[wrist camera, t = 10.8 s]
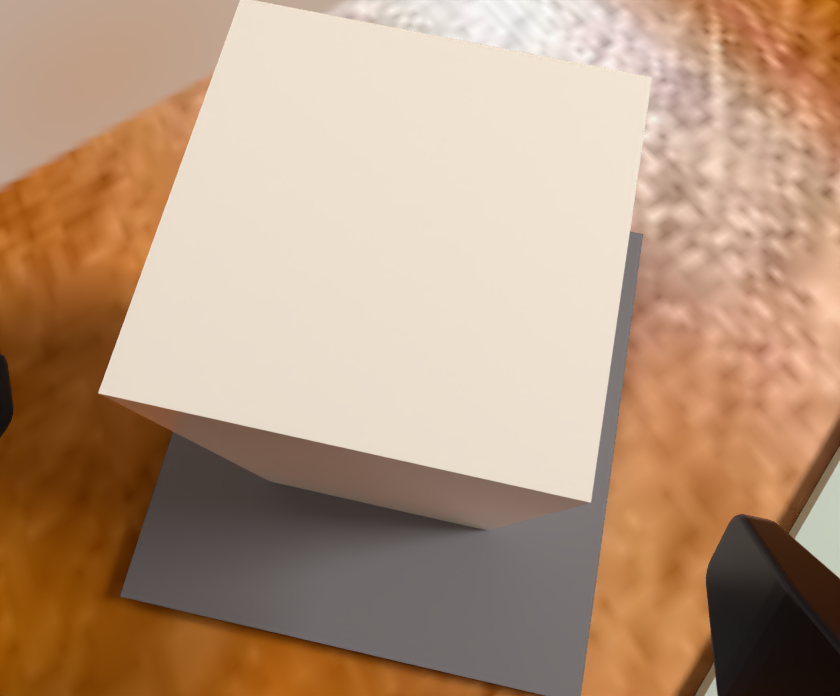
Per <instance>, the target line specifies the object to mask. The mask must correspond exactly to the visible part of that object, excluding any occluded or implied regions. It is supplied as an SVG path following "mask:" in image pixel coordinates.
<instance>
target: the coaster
mask: <svg viewBox="0 0 840 696" xmlns="http://www.w3.org/2000/svg"><path fill="white" fill-rule="evenodd" d="M789 535H791V536H792V537H793V538H794V539H795V540H796V541H797V542H799V543H800V544H801V545H802V546H803V547H804V548H806V549H807V550H808V551H809V552H810V553H811V554H812V555H814V556H815V557H816V558H817V559H818V560H819V561H820V562H822V563H823V564H824V565H825V566H826V567H827V568H828V569H830V570H831V571H832V572H833V573H834V574H835V575H837V576H838V577H839V578H840V446H839V448H838V449H837V451H836V453H835V454H834V456H833V458H832V460H831V461H830V463H829V465H828V466H827V468H826V470H825V472H824V473H823V475H822V477H821V479H820V480H819V482H818V484H817V485H816V487H815V489H814V491H813V492H812V494H811V496H810V498H809V499H808V501H807V503H806V504H805V506H804V508H803V510H802V511H801V513H800V515H799V517H798V518H797V520H796V522H795V523H794V525H793V527H792V529H791V530H790V532H789ZM695 696H718V695H717V687H716V678H715V668H714V663H713V665H712V667H711V668H710V670H709V672H708V674H707V675H706V677H705V679H704V681H703V682H702V684H701V686H700V687H699V689H698V691H697V693H696V694H695Z"/></svg>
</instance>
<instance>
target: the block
mask: <svg viewBox="0 0 840 696" xmlns="http://www.w3.org/2000/svg"><path fill="white" fill-rule="evenodd" d="M651 81H652V77H647V76H642V75H637V74H632V73H626V72H621V71H616V70H611V69H606V68H601V67H595V66H590V65H585V64H580V63H575V62H570V61H564V60H559V59H554V58H549V57H544V56H539V55H533V54H528V53H523V52H518V51H513V50H508V49H502V48H497V47H492V46H487V45H482V44H477V43H471V42H466V41H461V40H456V39H451V38H446V37H440V36H435V35H430V34H425V33H420V32H415V31H409V30H404V29H399V28H394V27H389V26H384V25H378V24H373V23H368V22H363V21H358V20H353V19H347V18H342V17H337V16H332V15H327V14H322V13H316V12H311V11H306V10H301V9H295V8H290V7H285V6H280V5H275V4H270V3H265V2H259V1H254V0H240V3H239V5H238V8H237V11H236V13H235V16H234V19H233V21H232V25H231V27H230V30H229V33H228V35H227V38H226V41H225V44H224V46H223V49H222V52H221V55H220V58H219V60H218V63H217V66H216V68H215V71H214V74H213V77H212V80H211V82H210V85H209V88H208V91H207V93H206V96H205V99H204V102H203V104H202V107H201V110H200V113H199V115H198V118H197V121H196V124H195V127H194V129H193V132H192V135H191V138H190V140H189V143H188V146H187V149H186V151H185V154H184V157H183V160H182V162H181V165H180V168H179V171H178V174H177V176H176V179H175V182H174V185H173V187H172V190H171V193H170V196H169V198H168V201H167V204H166V207H165V209H164V212H163V215H162V218H161V221H160V223H159V226H158V229H157V232H156V234H155V237H154V240H153V243H152V245H151V248H150V251H149V254H148V256H147V259H146V262H145V265H144V268H143V270H142V273H141V276H140V279H139V281H138V284H137V287H136V290H135V292H134V295H133V298H132V301H131V303H130V306H129V309H128V312H127V315H126V317H125V320H124V323H123V326H122V328H121V331H120V334H119V337H118V339H117V342H116V345H115V348H114V350H113V353H112V356H111V359H110V362H109V364H108V367H107V370H106V373H105V375H104V378H103V381H102V384H101V386H100V389H99V392H98V393H99V394H101V395H102V396H104V397H106V398H108V399H110V400H112V401H114V402H116V403H118V404H120V405H122V406H124V407H126V408H128V409H130V410H132V411H134V412H136V413H138V414H139V415H141V416H143V417H145V418H147V419H149V420H151V421H153V422H155V423H157V424H159V425H161V426H163V427H165V428H167V429H169V430H171V431H173V432H175V433H176V434H178V435H180V436H182V437H184V438H186V439H188V440H190V441H192V442H194V443H196V444H198V445H200V446H202V447H204V448H206V449H208V450H210V451H212V452H213V453H215V454H217V455H219V456H221V457H223V458H225V459H227V460H229V461H231V462H233V463H235V464H237V465H239V466H241V467H243V468H245V469H247V470H248V471H250V472H252V473H254V474H256V475H258V476H260V477H262V478H264V479H266V480H268V481H270V482H274V483H279V484H283V485H288V486H292V487H296V488H301V489H305V490H310V491H314V492H319V493H323V494H327V495H332V496H336V497H341V498H345V499H350V500H354V501H359V502H363V503H367V504H372V505H376V506H381V507H385V508H390V509H394V510H398V511H403V512H407V513H412V514H416V515H421V516H425V517H430V518H434V519H438V520H443V521H447V522H452V523H456V524H461V525H465V526H469V527H474V528H478V529H483V530H487V531H488V530H491V529H495V528H499V527H503V526H506V525H510V524H514V523H517V522H521V521H525V520H528V519H532V518H536V517H540V516H543V515H547V514H551V513H554V512H558V511H562V510H566V509H569V508H573V507H577V506H580V505H584V504H588V503H591V499H592V492H593V485H594V478H595V471H596V464H597V457H598V450H599V443H600V436H601V429H602V422H603V415H604V408H605V401H606V394H607V387H608V380H609V373H610V366H611V359H612V352H613V346H614V339H615V332H616V325H617V318H618V311H619V304H620V297H621V290H622V283H623V276H624V269H625V262H626V255H627V248H628V241H629V234H630V227H631V220H632V213H633V206H634V199H635V192H636V185H637V178H638V171H639V164H640V157H641V150H642V143H643V136H644V129H645V122H646V116H647V109H648V102H649V95H650V88H651Z"/></svg>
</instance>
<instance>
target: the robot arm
mask: <svg viewBox="0 0 840 696" xmlns="http://www.w3.org/2000/svg"><path fill="white" fill-rule="evenodd" d="M12 415H13V401H12V393H11V386H10V379H9V372H8V365H7V361H6V359H5V357H4V356H3V354H1V353H0V437H1V436H2V434H3V433H4V432H5V430H6V429H7V427H8V426H9V423H10V421H11V419H12ZM706 588H707V598H708V608H709V618H710V628H711V638H712V648H713V658H714V668H715V678H716V687H717V695H718V696H840V578H839V577H838V576H837V575H835V574H834V573H833V572H832V571H831V570H830V569H828V568H827V567H826V566H825V565H824V564H823V563H822V562H820V561H819V560H818V559H817V558H816V557H815V556H814V555H812V554H811V553H810V552H809V551H808V550H807V549H806V548H804V547H803V546H802V545H801V544H800V543H799V542H797V541H796V540H795V539H794V538H793V537H792V536H791V535H789V534H788V533H787V532H786V531H785V530H784V529H783V528H781V527H780V526H779V525H778V524H777V523H775V522H773V521H771V520H768V519H763V518H759V517H754V516H749V515H745V514H740V515H737V516H735V517H734V518H733V519H732V520H731V521H730V523H729V524H728V526H727V528H726V530H725V532H724V534H723V536H722V538H721V540H720V542H719V544H718V546H717V548H716V550H715V552H714V554H713V556H712V558H711V560H710V562H709V565H708V569H707V574H706Z"/></svg>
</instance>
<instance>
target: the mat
mask: <svg viewBox="0 0 840 696" xmlns="http://www.w3.org/2000/svg"><path fill="white" fill-rule="evenodd" d="M642 238H643V234H639V233H634V232H630V234H629V241H628V248H627V255H626V262H625V269H624V276H623V283H622V290H621V297H620V304H619V311H618V318H617V325H616V332H615V339H614V346H613V352H612V359H611V366H610V373H609V380H608V387H607V394H606V401H605V408H604V415H603V422H602V429H601V436H600V443H599V450H598V457H597V464H596V471H595V478H594V485H593V492H592V499H591V503H588V504H584V505H580V506H577V507H573V508H569V509H566V510H562V511H558V512H554V513H551V514H547V515H543V516H540V517H536V518H532V519H528V520H525V521H521V522H517V523H514V524H510V525H506V526H503V527H499V528H495V529H491V530H488V531H487V530H483V529H478V528H474V527H469V526H465V525H461V524H456V523H452V522H447V521H443V520H438V519H434V518H430V517H425V516H421V515H416V514H412V513H407V512H403V511H398V510H394V509H390V508H385V507H381V506H376V505H372V504H367V503H363V502H359V501H354V500H350V499H345V498H341V497H336V496H332V495H327V494H323V493H319V492H314V491H310V490H305V489H301V488H296V487H292V486H288V485H283V484H279V483H274V482H270V481H268V480H266V479H264V478H262V477H260V476H258V475H256V474H254V473H252V472H250V471H248V470H247V469H245V468H243V467H241V466H239V465H237V464H235V463H233V462H231V461H229V460H227V459H225V458H223V457H221V456H219V455H217V454H215V453H213V452H212V451H210V450H208V449H206V448H204V447H202V446H200V445H198V444H196V443H194V442H192V441H190V440H188V439H186V438H184V437H182V436H180V435H178V434H176V433H175V432H173V433H172V436H171V439H170V443H169V446H168V449H167V452H166V455H165V458H164V461H163V464H162V467H161V470H160V474H159V477H158V480H157V483H156V486H155V489H154V492H153V495H152V498H151V502H150V505H149V508H148V511H147V514H146V517H145V520H144V523H143V526H142V529H141V533H140V536H139V539H138V542H137V545H136V548H135V551H134V554H133V557H132V561H131V564H130V567H129V570H128V573H127V576H126V579H125V582H124V585H123V588H122V592H121V595H120V597H124V598H128V599H133V600H137V601H141V602H146V603H150V604H154V605H158V606H163V607H167V608H171V609H176V610H180V611H184V612H189V613H193V614H197V615H201V616H206V617H210V618H214V619H219V620H223V621H227V622H231V623H236V624H240V625H244V626H249V627H253V628H257V629H262V630H266V631H270V632H274V633H279V634H283V635H287V636H292V637H296V638H300V639H304V640H309V641H313V642H317V643H322V644H326V645H330V646H334V647H339V648H343V649H347V650H352V651H356V652H360V653H365V654H369V655H373V656H377V657H382V658H386V659H390V660H395V661H399V662H403V663H407V664H412V665H416V666H420V667H425V668H429V669H433V670H437V671H442V672H446V673H450V674H455V675H459V676H463V677H468V678H472V679H476V680H480V681H485V682H489V683H493V684H498V685H502V686H506V687H510V688H515V689H519V690H523V691H528V692H532V693H536V694H540V695H545V696H581V690H582V682H583V675H584V668H585V660H586V653H587V645H588V638H589V630H590V623H591V616H592V608H593V601H594V593H595V586H596V579H597V571H598V564H599V556H600V549H601V542H602V534H603V527H604V519H605V512H606V504H607V497H608V490H609V482H610V475H611V467H612V460H613V453H614V445H615V438H616V430H617V423H618V416H619V408H620V401H621V393H622V386H623V378H624V371H625V364H626V356H627V349H628V341H629V334H630V327H631V319H632V312H633V304H634V297H635V290H636V282H637V275H638V267H639V260H640V252H641V245H642Z"/></svg>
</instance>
